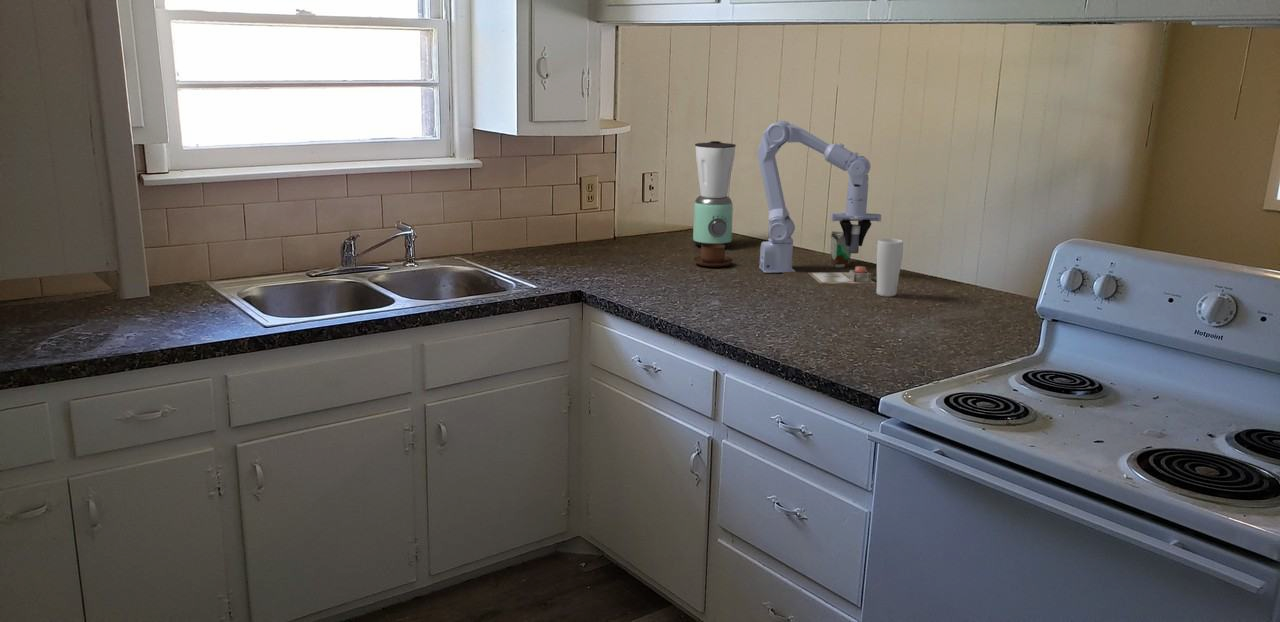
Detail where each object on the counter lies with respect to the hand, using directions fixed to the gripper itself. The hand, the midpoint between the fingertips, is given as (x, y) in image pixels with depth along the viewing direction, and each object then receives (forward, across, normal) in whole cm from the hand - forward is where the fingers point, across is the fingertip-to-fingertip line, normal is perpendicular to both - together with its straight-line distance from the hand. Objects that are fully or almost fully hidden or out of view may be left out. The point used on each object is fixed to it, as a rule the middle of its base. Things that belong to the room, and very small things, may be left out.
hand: (853, 245), depth 287 cm
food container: (+10, +2, +14) cm, 17 cm away
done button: (+7, 0, -7) cm, 10 cm away
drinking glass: (+9, +3, -23) cm, 25 cm away
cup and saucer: (+10, -38, +18) cm, 43 cm away
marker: (+2, 0, 0) cm, 2 cm away
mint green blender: (+10, -33, +49) cm, 60 cm away
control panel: (+9, -4, -4) cm, 11 cm away
